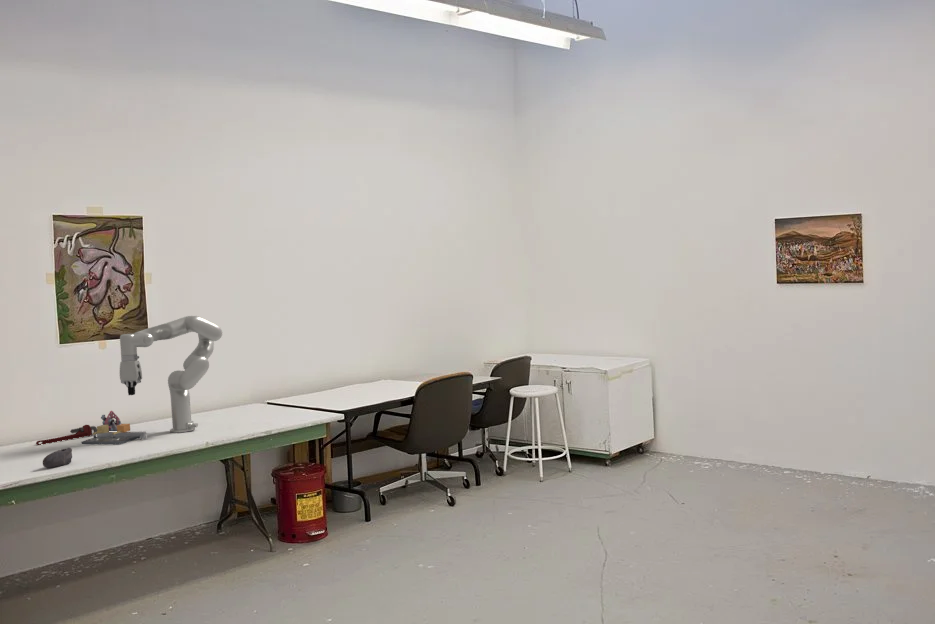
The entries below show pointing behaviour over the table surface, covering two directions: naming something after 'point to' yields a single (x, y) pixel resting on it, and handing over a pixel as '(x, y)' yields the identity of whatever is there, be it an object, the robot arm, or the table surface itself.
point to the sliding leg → (122, 429)
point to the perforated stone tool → (58, 458)
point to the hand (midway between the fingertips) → (131, 394)
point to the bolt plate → (107, 436)
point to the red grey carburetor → (111, 421)
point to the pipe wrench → (79, 432)
